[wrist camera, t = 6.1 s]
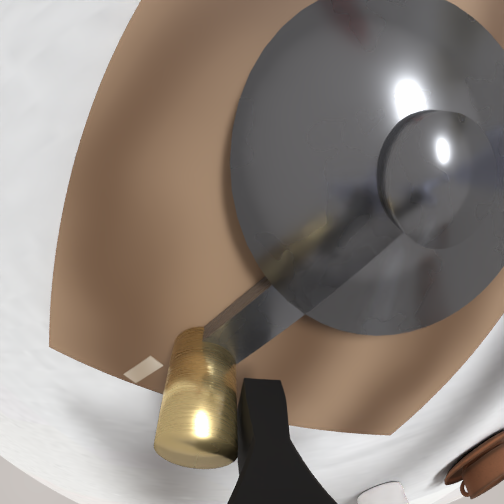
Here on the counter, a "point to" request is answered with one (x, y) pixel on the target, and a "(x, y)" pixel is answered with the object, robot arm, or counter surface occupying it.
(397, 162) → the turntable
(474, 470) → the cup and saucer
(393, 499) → the drinking glass
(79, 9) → the counter surface
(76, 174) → the board
